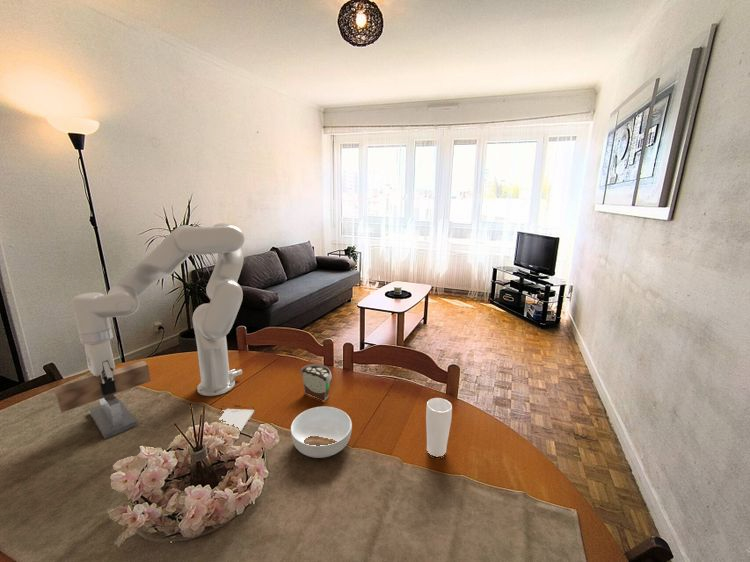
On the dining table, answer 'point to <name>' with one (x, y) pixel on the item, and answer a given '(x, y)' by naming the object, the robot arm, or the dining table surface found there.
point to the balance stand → (112, 416)
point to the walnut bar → (91, 386)
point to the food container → (316, 380)
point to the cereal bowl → (321, 430)
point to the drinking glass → (438, 425)
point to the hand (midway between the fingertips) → (107, 390)
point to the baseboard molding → (236, 417)
